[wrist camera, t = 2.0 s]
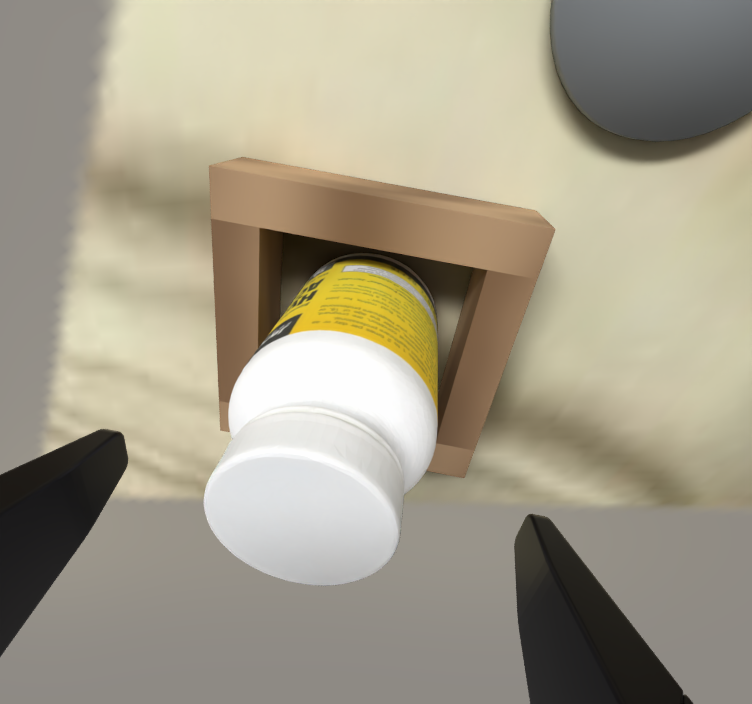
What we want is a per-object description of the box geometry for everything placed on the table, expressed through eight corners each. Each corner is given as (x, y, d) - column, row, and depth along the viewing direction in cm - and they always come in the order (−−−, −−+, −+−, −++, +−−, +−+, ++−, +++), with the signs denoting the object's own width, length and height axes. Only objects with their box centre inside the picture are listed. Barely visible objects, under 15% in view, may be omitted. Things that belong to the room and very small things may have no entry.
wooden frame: (536, 210, 14) (555, 229, 12) (460, 436, 19) (464, 478, 17) (242, 157, 14) (208, 165, 12) (243, 394, 19) (220, 430, 17)
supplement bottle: (324, 224, 15) (189, 371, 7) (461, 283, 16) (497, 488, 7) (284, 345, 18) (153, 558, 9) (403, 392, 18) (379, 634, 10)
